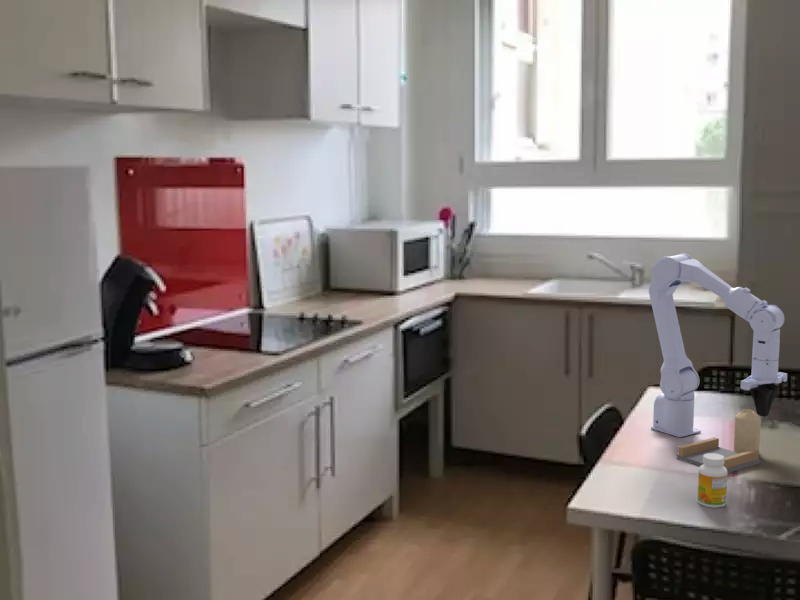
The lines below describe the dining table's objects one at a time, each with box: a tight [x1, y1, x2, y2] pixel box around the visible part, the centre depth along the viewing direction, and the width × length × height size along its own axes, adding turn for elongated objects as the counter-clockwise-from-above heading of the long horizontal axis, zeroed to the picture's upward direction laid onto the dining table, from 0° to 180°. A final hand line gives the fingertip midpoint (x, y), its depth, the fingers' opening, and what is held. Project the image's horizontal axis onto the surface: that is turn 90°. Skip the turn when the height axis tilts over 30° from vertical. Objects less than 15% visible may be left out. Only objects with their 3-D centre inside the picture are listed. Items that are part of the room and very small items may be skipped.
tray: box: [676, 437, 761, 474], centre depth 208 cm, size 13×12×3 cm
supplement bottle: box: [697, 453, 728, 509], centre depth 183 cm, size 5×5×10 cm
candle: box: [733, 408, 762, 453], centre depth 213 cm, size 6×6×10 cm
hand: (762, 415), depth 215 cm, fingers closed
